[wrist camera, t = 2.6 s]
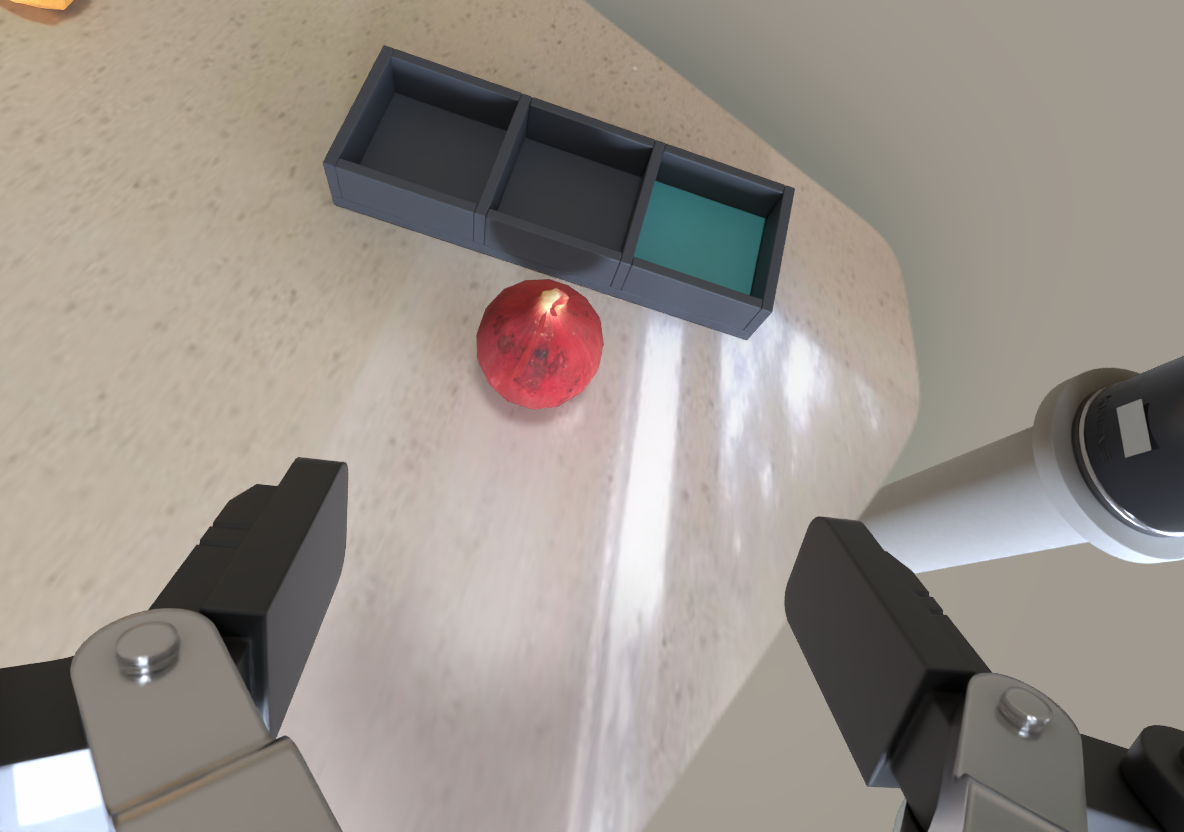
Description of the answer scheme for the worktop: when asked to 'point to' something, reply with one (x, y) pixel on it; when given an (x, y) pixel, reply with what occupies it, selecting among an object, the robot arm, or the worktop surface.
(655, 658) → the worktop surface
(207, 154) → the worktop surface
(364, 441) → the worktop surface
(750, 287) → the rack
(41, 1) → the carrot
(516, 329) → the onion
